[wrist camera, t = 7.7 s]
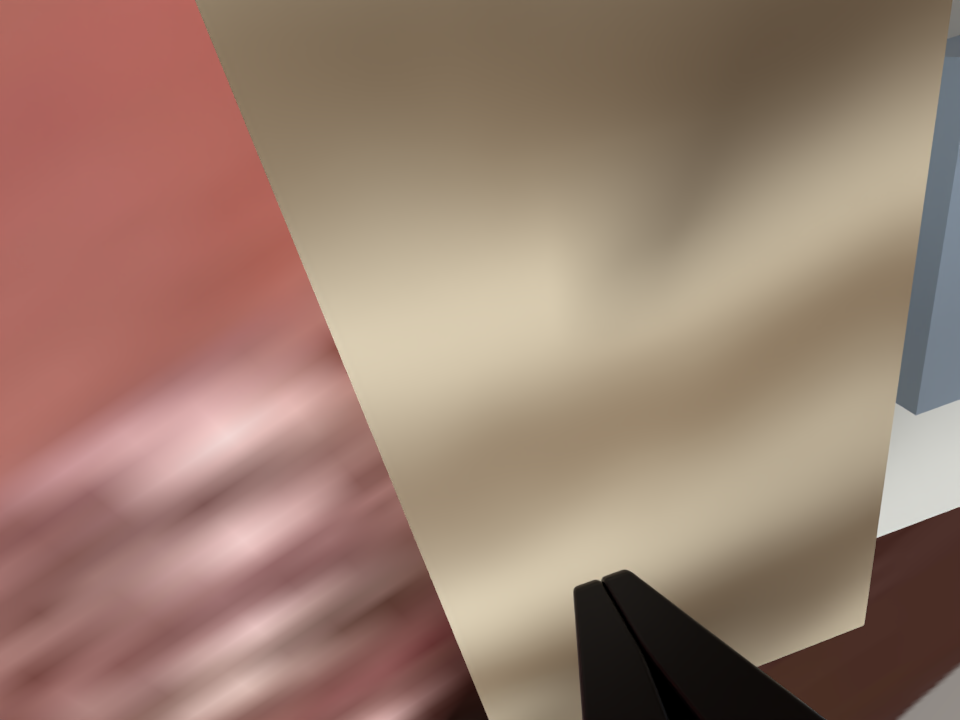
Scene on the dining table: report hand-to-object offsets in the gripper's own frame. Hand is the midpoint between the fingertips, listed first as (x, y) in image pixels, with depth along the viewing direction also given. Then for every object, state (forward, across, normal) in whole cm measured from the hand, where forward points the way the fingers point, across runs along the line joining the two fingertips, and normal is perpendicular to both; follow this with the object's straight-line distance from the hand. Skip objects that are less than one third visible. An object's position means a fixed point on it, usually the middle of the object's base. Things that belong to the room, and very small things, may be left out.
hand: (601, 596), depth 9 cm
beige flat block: (+8, -3, 0) cm, 8 cm away
